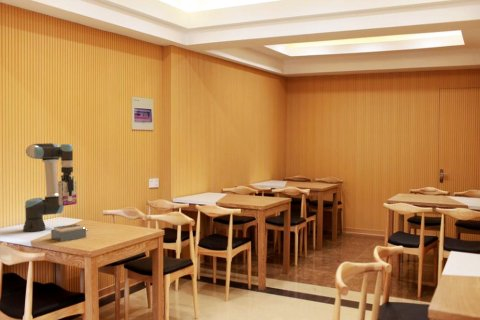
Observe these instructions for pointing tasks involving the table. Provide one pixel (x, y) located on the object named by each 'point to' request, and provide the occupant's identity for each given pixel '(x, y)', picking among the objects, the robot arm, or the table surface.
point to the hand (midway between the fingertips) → (67, 200)
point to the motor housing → (68, 232)
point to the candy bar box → (66, 193)
